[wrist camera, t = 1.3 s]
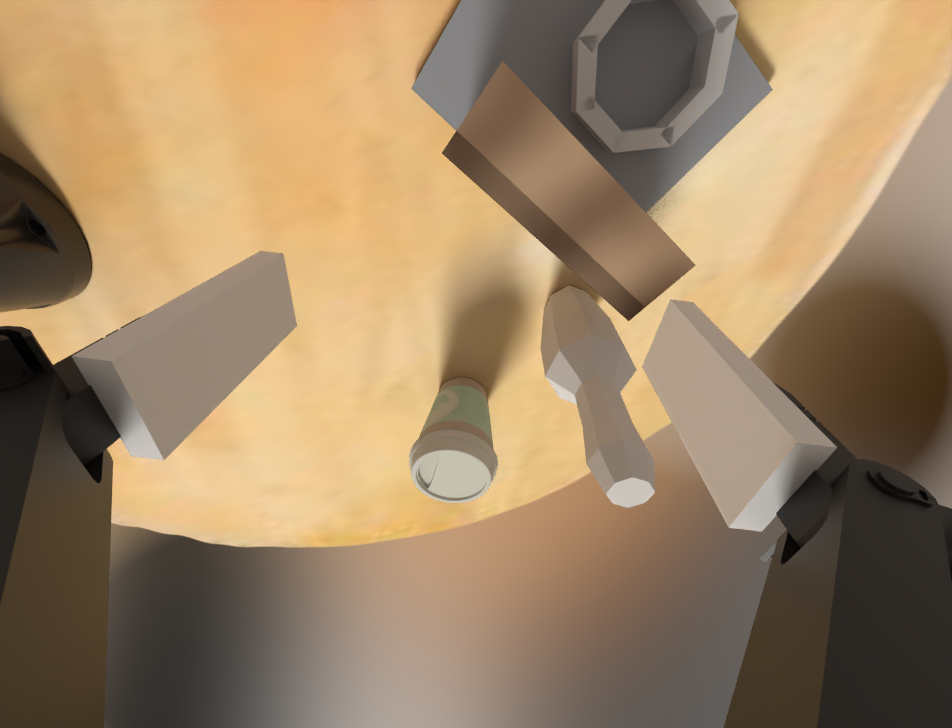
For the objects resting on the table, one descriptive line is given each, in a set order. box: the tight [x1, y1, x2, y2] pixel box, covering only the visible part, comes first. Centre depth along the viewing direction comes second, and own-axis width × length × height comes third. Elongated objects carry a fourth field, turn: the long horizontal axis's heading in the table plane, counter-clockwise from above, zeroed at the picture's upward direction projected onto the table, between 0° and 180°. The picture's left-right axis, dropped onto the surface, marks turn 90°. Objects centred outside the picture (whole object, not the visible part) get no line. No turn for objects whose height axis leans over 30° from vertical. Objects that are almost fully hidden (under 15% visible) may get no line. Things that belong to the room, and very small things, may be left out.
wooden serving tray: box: [442, 61, 695, 321], centre depth 25 cm, size 14×4×14 cm, turn 51°
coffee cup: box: [409, 377, 498, 503], centre depth 40 cm, size 8×8×12 cm
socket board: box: [411, 0, 773, 212], centre depth 26 cm, size 20×16×4 cm
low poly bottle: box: [541, 285, 655, 508], centre depth 28 cm, size 6×6×22 cm
